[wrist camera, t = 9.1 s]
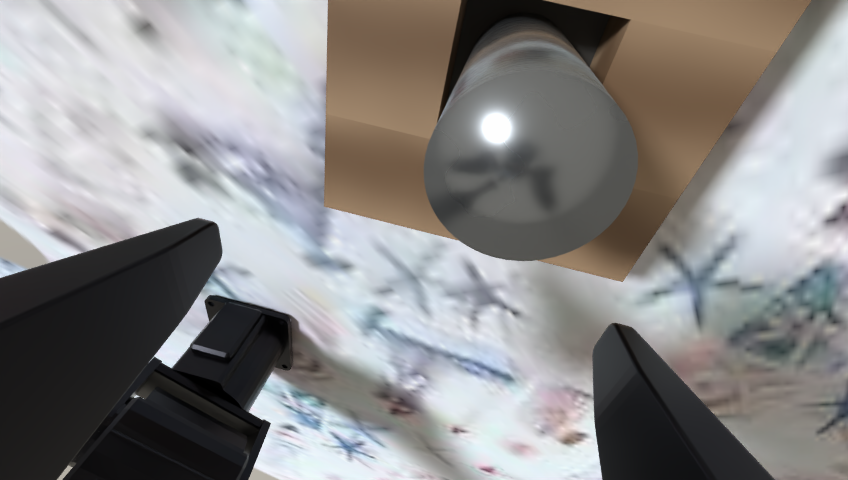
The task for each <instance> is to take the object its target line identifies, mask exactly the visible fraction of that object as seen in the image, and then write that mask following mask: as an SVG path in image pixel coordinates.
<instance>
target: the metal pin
mask: <svg viewBox="0 0 848 480" xmlns="http://www.w3.org/2000/svg"><path fill="white" fill-rule="evenodd" d="M637 169H638V151H637V144H636V139H635V136H634V133H633V130H632V127H631V125H630V123H629V121H628V119H627V117H626V115H625V114H624V113H623V111H622V110H621V109H620V107H619V106H618V105H617V103H616V102H615V101H614V99H613V98H612V97H611V95H610V94H609V93H608V92H607V90H606V89H605V88H604V86H603V85H602V84H601V82H600V81H599V80H598V78H597V77H596V76H595V74H594V73H593V72H592V70H591V69H590V68H589V67H588V65H587V64H586V63H585V61H584V60H583V59H582V57H581V56H580V55H579V53H578V52H577V51H576V49H575V48H574V47H573V45H572V44H571V43H570V42H569V40H568V39H567V38H566V36H565V35H564V34H563V32H562V31H561V30H560V28H559V27H558V26H557V25H556V24H555V23H554V22H552V21H551V20H549V19H548V18H546V17H544V16H542V15H539V14H535V13H529V12H521V13H514V14H511V15H507V16H505V17H503V18H500V19H499V20H497V21H495V22H494V23H493V24H491V25H490V26H489V27H488V28H487V29H486V30H485V31H484V32H483V33H482V34H481V36H480V37H479V38H478V40H477V42H476V44H475V45H474V47H473V49H472V52H471V54H470V56H469V58H468V60H467V62H466V64H465V66H464V68H463V70H462V72H461V75H460V77H459V79H458V81H457V83H456V85H455V87H454V89H453V91H452V93H451V95H450V98H449V100H448V102H447V104H446V106H445V108H444V110H443V112H442V114H441V116H440V118H439V120H438V123H437V125H436V127H435V129H434V131H433V133H432V136H431V138H430V140H429V143H428V146H427V150H426V154H425V160H424V183H425V189H426V193H427V196H428V200H429V202H430V205H431V207H432V209H433V211H434V213H435V214H436V216H437V218H438V219H439V221H440V222H441V223H442V224H443V226H444V227H445V228H446V229H447V230H448V231H449V232H450V233H451V234H452V235H453V236H454V237H455V238H457V239H458V240H460V241H461V242H462V243H464V244H465V245H467V246H469V247H470V248H472V249H474V250H476V251H479V252H481V253H483V254H486V255H489V256H493V257H496V258H501V259H506V260H516V261H533V260H542V259H547V258H552V257H556V256H559V255H563V254H566V253H568V252H571V251H573V250H575V249H578V248H580V247H581V246H583V245H585V244H587V243H588V242H590V241H591V240H593V239H594V238H596V237H597V236H598V235H600V234H601V233H602V232H603V231H604V230H605V229H607V228H608V227H609V226H610V225H611V224H612V222H613V221H614V220H615V219H616V218H617V217H618V215H619V214H620V212H621V211H622V209H623V208H624V206H625V205H626V203H627V201H628V199H629V197H630V195H631V193H632V190H633V187H634V184H635V181H636V175H637Z"/></svg>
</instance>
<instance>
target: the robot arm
mask: <svg viewBox="0 0 848 480" xmlns="http://www.w3.org/2000/svg"><path fill="white" fill-rule="evenodd" d="M221 257H222V245H221V239H220V233H219V228H218V225H217V224H216V223H215V222H213V221H209V220H205V219H200V218H196V219H192V220H189V221H185V222H182V223H179V224H176V225H172V226H169V227H166V228H163V229H159V230H156V231H153V232H149V233H146V234H143V235H140V236H136V237H133V238H130V239H126V240H123V241H120V242H117V243H113V244H110V245H107V246H103V247H100V248H97V249H94V250H90V251H87V252H84V253H81V254H77V255H74V256H71V257H67V258H64V259H61V260H58V261H54V262H51V263H48V264H45V265H41V266H38V267H35V268H31V269H28V270H25V271H21V272H18V273H15V274H12V275H8V276H5V277H2V278H0V480H57V479H58V477H59V476H60V475H61V474H62V472H63V471H64V470H65V469H66V467H67V466H68V465H69V466H71V467H73V468H72V469H71V470H70V472H69V473H68V474H67V475H66V476H65V477H64V478H63V480H248V479H249V477H250V474H251V472H252V469H253V467H254V464H255V462H256V459H257V457H258V454H259V452H260V449H261V447H262V444H263V442H264V439H265V437H266V434H267V432H268V429H269V427H270V424H271V423H269V422H268V421H266V420H261V419H259V418H258V417H256V416H254V415H252V414H251V413H249V410H250V408H251V407H252V405H253V403H254V402H255V400H256V398H257V396H258V395H259V393H260V391H261V390H262V388H263V386H264V385H265V383H266V381H267V379H268V378H269V376H270V374H271V373H272V371H273V369H274V368H275V367H276V368H280V369H283V370H290V369H291V367H292V365H293V358H292V340H291V322H290V318H289V317H288V316H286V315H284V314H281V313H277V312H273V311H269V310H266V309H262V308H258V307H254V306H251V305H247V304H243V303H239V302H236V301H232V300H228V299H225V298H221V297H217V296H213V295H210V296H208V297H207V299H206V300H205V306H206V310H207V314H208V318H209V323H208V324H207V325H206V326H205V328H204V329H203V330H202V331H201V332H200V334H199V335H198V336H197V337H196V338H195V339H194V341H193V342H192V343H191V345H190V347H189V348H188V349H187V351H186V352H185V353H184V354H183V355H182V357H181V358H180V359H179V360H178V361H177V363H176V364H175V365H174V366H173V367H172V368H170V367H168V366H166V365H165V364H163V363H161V362H162V361H161V360H159V359H157V358H156V357H154V355H155V354H156V353H157V351H158V350H159V349H160V348H161V346H162V345H163V344H164V342H165V341H166V340H167V339H168V337H169V336H170V335H171V334H172V332H173V331H174V330H175V328H176V327H177V326H178V325H179V323H180V322H181V321H182V319H183V318H184V317H185V315H186V314H187V312H188V311H189V309H190V308H191V306H192V305H193V303H194V302H195V300H196V298H197V297H198V295H199V294H200V292H201V290H202V289H203V287H204V286H205V284H206V282H207V281H208V279H209V278H210V276H211V274H212V273H213V271H214V270H215V268H216V266H217V265H218V263H219V262H220V260H221ZM153 357H154V358H153ZM152 358H153V359H152ZM151 359H152V360H151ZM150 360H151V361H150ZM593 393H594V420H595V429H596V437H597V444H598V451H599V458H600V465H601V472H602V480H775V479H774V478H773V477H772V476H771V475H770V474H769V473H768V472H767V471H766V470H765V469H764V467H763V466H762V465H761V464H760V463H759V462H758V461H757V460H756V459H755V458H754V457H753V456H752V455H751V454H750V453H749V451H748V450H747V449H746V448H745V447H744V446H743V445H742V444H741V443H740V442H739V441H738V440H737V439H736V438H735V436H734V435H733V434H732V433H731V432H730V431H729V430H728V429H727V428H726V427H725V426H724V425H723V424H722V423H721V421H720V420H719V419H718V418H717V417H716V416H715V415H714V414H713V413H712V412H711V411H710V410H709V409H708V408H707V406H706V405H705V404H704V403H703V402H702V401H701V400H700V399H699V398H698V397H697V396H696V395H695V394H694V393H693V392H692V390H691V389H690V388H689V387H688V386H687V385H686V384H685V383H684V382H683V381H682V380H681V379H680V378H679V377H678V375H677V374H676V373H675V372H674V371H673V370H672V369H671V368H670V367H669V366H668V365H667V364H666V363H665V362H664V360H663V359H662V358H661V357H660V356H659V355H658V354H657V353H656V352H655V351H654V350H653V349H652V348H651V347H650V346H649V344H648V343H647V342H646V341H645V340H644V339H643V338H642V337H641V336H640V335H639V334H638V333H637V332H636V331H635V330H634V329H633V328H632V327H629V326H626V325H622V324H618V323H612V324H610V325H609V326H608V328H607V329H606V331H605V332H604V333H603V335H602V336H601V338H600V339H599V341H598V342H597V344H596V345H595V347H594V350H593ZM136 395H138V396H140V397H137V398H134V397H135V396H136ZM141 397H142V398H141ZM143 398H144V399H143Z"/></svg>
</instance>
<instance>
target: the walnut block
mask: <svg viewBox="0 0 848 480" xmlns="http://www.w3.org/2000/svg"><path fill="white" fill-rule="evenodd" d="M810 2H811V0H328V31H327V84H326V137H325V189H324V207H328V208H332V209H336V210H340V211H344V212H348V213H352V214H356V215H360V216H364V217H368V218H372V219H376V220H380V221H384V222H388V223H391V224H395V225H399V226H403V227H407V228H411V229H415V230H419V231H423V232H427V233H431V234H435V235H439V236H443V237H447V238H451V239H455V240H458V239H457V238H455V237H454V236H453V235H452V234H451V233H450V232H449V231H448V230H447V229H446V228H445V227H444V226H443V224H442V223H441V222H440V221H439V219H438V218H437V216H436V214H435V213H434V211H433V209H432V207H431V205H430V202H429V200H428V196H427V193H426V189H425V183H424V160H425V154H426V150H427V146H428V143H429V140H430V138H431V136H432V133H433V131H434V129H435V127H436V125H437V123H438V120H439V118H440V116H441V114H442V112H443V110H444V108H445V106H446V104H447V102H448V100H449V98H450V95H451V93H452V91H453V89H454V87H455V85H456V83H457V81H458V79H459V77H460V75H461V72H462V70H463V68H464V66H465V64H466V62H467V60H468V58H469V56H470V54H471V52H472V49H473V47H474V45H475V44H476V42H477V40H478V38H479V37H480V36H481V34H482V33H483V32H484V31H485V30H486V29H487V28H488V27H489V26H490V25H491V24H493V23H494V22H495V21H497V20H499V19H500V18H503V17H505V16H507V15H511V14H514V13H521V12H529V13H535V14H539V15H542V16H544V17H546V18H548V19H549V20H551V21H552V22H554V23H555V24H556V25H557V26H558V27H559V28H560V30H561V31H562V32H563V34H564V35H565V36H566V38H567V39H568V40H569V42H570V43H571V44H572V45H573V47H574V48H575V49H576V51H577V52H578V53H579V55H580V56H581V57H582V59H583V60H584V61H585V63H586V64H587V65H588V67H589V68H590V69H591V70H592V72H593V73H594V74H595V76H596V77H597V78H598V80H599V81H600V82H601V84H602V85H603V86H604V88H605V89H606V90H607V92H608V93H609V94H610V95H611V97H612V98H613V99H614V101H615V102H616V103H617V105H618V106H619V107H620V109H621V110H622V111H623V113H624V114H625V115H626V117H627V119H628V121H629V123H630V125H631V127H632V130H633V133H634V136H635V139H636V144H637V151H638V169H637V175H636V181H635V184H634V187H633V190H632V193H631V195H630V197H629V199H628V201H627V203H626V205H625V206H624V208H623V209H622V211H621V212H620V214H619V215H618V217H617V218H616V219H615V220H614V221H613V222H612V224H611V225H610V226H609V227H608V228H607V229H605V230H604V231H603V232H602V233H601V234H600V235H598V236H597V237H596V238H594V239H593V240H591V241H590V242H588V243H587V244H585V245H583V246H581V247H580V248H578V249H575V250H573V251H571V252H568V253H566V254H563V255H559V256H556V257H552V258H547V259H542V260H538V261H542V262H546V263H550V264H553V265H557V266H561V267H565V268H569V269H573V270H577V271H581V272H585V273H589V274H593V275H597V276H601V277H605V278H609V279H613V280H617V281H621V282H623V281H624V279H625V278H626V276H627V275H628V273H629V272H630V270H631V269H632V267H633V266H634V264H635V263H636V261H637V260H638V258H639V257H640V255H641V254H642V252H643V251H644V249H645V248H646V246H647V245H648V243H649V242H650V240H651V239H652V237H653V236H654V234H655V233H656V231H657V230H658V228H659V227H660V226H661V224H662V223H663V221H664V220H665V218H666V217H667V215H668V214H669V212H670V211H671V209H672V208H673V206H674V205H675V203H676V202H677V200H678V199H679V197H680V196H681V194H682V193H683V191H684V190H685V188H686V187H687V185H688V184H689V182H690V181H691V179H692V178H693V176H694V175H695V173H696V172H697V170H698V169H699V167H700V166H701V164H702V163H703V161H704V160H705V158H706V157H707V155H708V154H709V152H710V151H711V150H712V148H713V147H714V145H715V144H716V142H717V141H718V139H719V138H720V136H721V135H722V133H723V132H724V130H725V129H726V127H727V126H728V124H729V123H730V121H731V120H732V118H733V117H734V115H735V114H736V112H737V111H738V109H739V108H740V106H741V105H742V103H743V102H744V100H745V99H746V97H747V96H748V94H749V93H750V91H751V90H752V88H753V87H754V85H755V84H756V82H757V81H758V79H759V78H760V76H761V75H762V73H763V72H764V71H765V69H766V68H767V66H768V65H769V63H770V62H771V60H772V59H773V57H774V56H775V54H776V53H777V51H778V50H779V48H780V47H781V45H782V44H783V42H784V41H785V39H786V38H787V36H788V35H789V33H790V32H791V30H792V29H793V27H794V26H795V24H796V23H797V21H798V20H799V18H800V17H801V15H802V14H803V12H804V11H805V9H806V8H807V6H808V5H809V3H810ZM459 241H460V240H459Z"/></svg>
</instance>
